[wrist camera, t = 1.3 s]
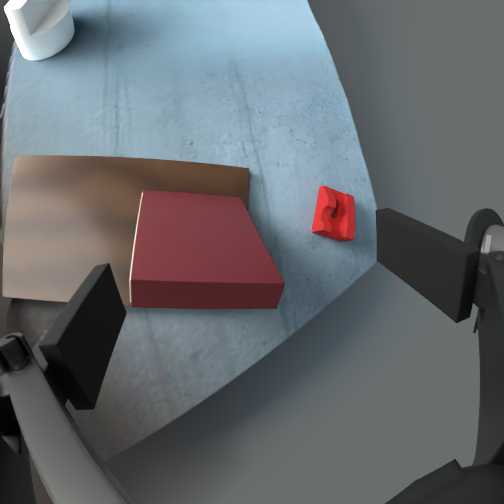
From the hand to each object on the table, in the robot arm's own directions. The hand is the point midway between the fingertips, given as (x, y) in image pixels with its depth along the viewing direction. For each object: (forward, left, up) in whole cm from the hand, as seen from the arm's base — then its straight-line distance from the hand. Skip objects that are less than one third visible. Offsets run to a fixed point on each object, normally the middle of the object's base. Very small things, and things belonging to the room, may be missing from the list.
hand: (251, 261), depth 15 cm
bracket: (-6, -19, -23) cm, 31 cm away
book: (+6, -4, -21) cm, 22 cm away
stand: (+8, +4, -23) cm, 25 cm away
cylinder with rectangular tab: (+41, -1, -24) cm, 47 cm away
